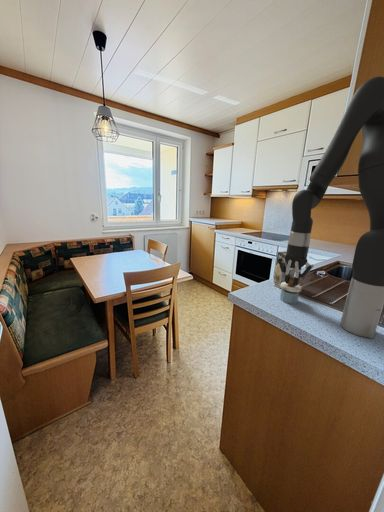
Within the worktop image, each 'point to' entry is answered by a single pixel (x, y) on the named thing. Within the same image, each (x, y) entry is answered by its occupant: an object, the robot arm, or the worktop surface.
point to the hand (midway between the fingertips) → (291, 284)
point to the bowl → (289, 296)
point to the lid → (290, 286)
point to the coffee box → (278, 275)
